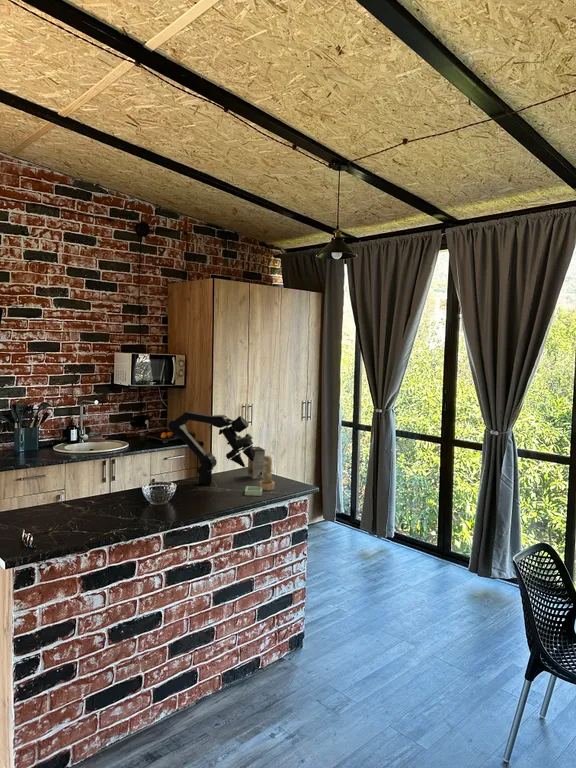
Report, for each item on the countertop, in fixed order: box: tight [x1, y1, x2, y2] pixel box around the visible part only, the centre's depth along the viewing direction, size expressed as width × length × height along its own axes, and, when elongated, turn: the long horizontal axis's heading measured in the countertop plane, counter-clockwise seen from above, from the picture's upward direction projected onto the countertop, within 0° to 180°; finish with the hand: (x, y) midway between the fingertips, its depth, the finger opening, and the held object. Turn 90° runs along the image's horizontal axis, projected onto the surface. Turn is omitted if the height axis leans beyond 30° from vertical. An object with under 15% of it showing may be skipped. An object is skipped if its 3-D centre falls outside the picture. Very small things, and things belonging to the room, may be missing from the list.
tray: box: [244, 485, 263, 497], centre depth 260 cm, size 8×8×3 cm
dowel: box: [262, 455, 273, 484], centre depth 269 cm, size 4×4×16 cm
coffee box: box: [247, 446, 266, 480], centre depth 291 cm, size 9×6×16 cm
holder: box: [258, 479, 276, 491], centre depth 269 cm, size 8×8×4 cm
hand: (248, 463), depth 269 cm, fingers open, 9 cm apart
